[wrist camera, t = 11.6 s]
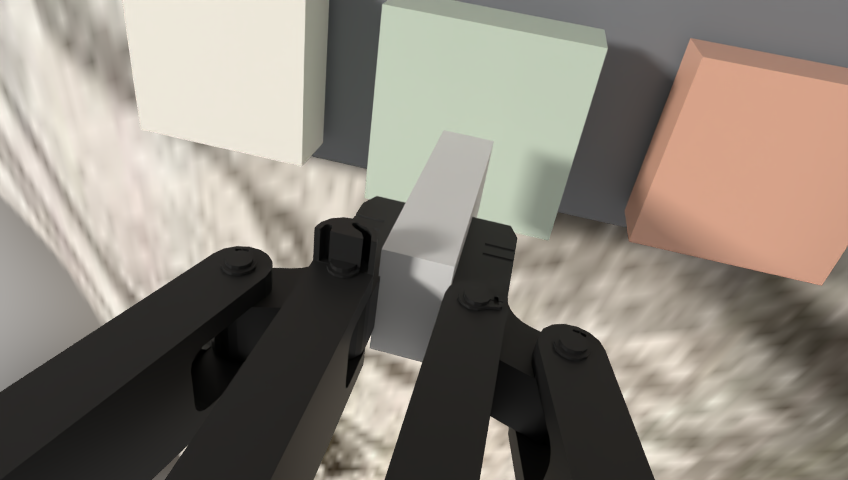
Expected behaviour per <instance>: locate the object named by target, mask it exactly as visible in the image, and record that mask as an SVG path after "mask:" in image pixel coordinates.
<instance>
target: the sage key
mask: <svg viewBox="0 0 848 480" xmlns="http://www.w3.org/2000/svg"><path fill="white" fill-rule="evenodd" d="M607 49H608V47H607V41H606V35H605V30H604V29H599V28H594V27H589V26H583V25H578V24H573V23H568V22H563V21H558V20H552V19H547V18H542V17H537V16H532V15H526V14H521V13H516V12H511V11H506V10H501V9H495V8H490V7H485V6H480V5H475V4H469V3H464V2H459V1H454V0H387V1H386V2H385V3H383V4H382V13H381V24H380V35H379V46H378V57H377V68H376V78H375V89H374V100H373V111H372V122H371V133H370V144H369V155H368V165H367V176H366V187H365V198H367V199H372V198H374V197H375V196H379V197H384V198H388V199H392V200H397V201H401V202H405V203H406V201H407V199H408V198H409V196H410V194H411V192H412V190H413V188H414V186H415V184H416V182H417V180H418V178H419V176H420V175H421V173H422V171H423V169H424V167H425V165H426V163H427V161H428V159H429V157H430V155H431V153H432V151H433V150H434V148H435V146H436V144H437V142H438V140H439V138H440V136H441V134H442V132H443V130H445V131H450V132H455V133H459V134H464V135H468V136H473V137H477V138H482V139H487V140H491V141H494V143H493V148H492V152H491V157H490V161H489V166H488V170H487V175H486V179H485V184H484V189H483V193H482V198H481V202H480V207H479V211H478V216H477V218H480V219H484V220H488V221H493V222H497V223H501V224H505V225H510V226H511V227H512V229H513V231H514V233H518V234H523V235H527V236H531V237H536V238H540V239H544V240H549V238H550V234H551V231H552V228H553V225H554V221H555V218H556V215H557V212H558V208H559V205H560V202H561V199H562V195H563V192H564V189H565V186H566V182H567V179H568V176H569V173H570V169H571V166H572V163H573V160H574V156H575V153H576V150H577V147H578V144H579V140H580V137H581V134H582V131H583V127H584V124H585V121H586V118H587V114H588V111H589V108H590V105H591V101H592V98H593V95H594V92H595V88H596V85H597V82H598V79H599V75H600V72H601V69H602V66H603V62H604V59H605V56H606V53H607Z"/></svg>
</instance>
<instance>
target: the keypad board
mask: <svg viewBox="0 0 848 480" xmlns="http://www.w3.org/2000/svg"><path fill="white" fill-rule="evenodd" d="M386 1H387V0H329V17H328V40H327V63H326V86H325V108H324V131H323V143H322V145H321V146H320V147H319V148H318V149H317V150H316V151H315V152H314V153H313V155H312V156H313V157H317V158H322V159H326V160H331V161H335V162H340V163H344V164H348V165H353V166H357V167H362V168H366V169H367V165H368V155H369V144H370V133H371V122H372V111H373V100H374V89H375V78H376V68H377V57H378V46H379V35H380V24H381V13H382V4H383V3H385V2H386ZM454 1H459V2H464V3H469V4H475V5H480V6H485V7H490V8H495V9H501V10H506V11H511V12H516V13H521V14H526V15H532V16H537V17H542V18H547V19H552V20H558V21H563V22H568V23H573V24H578V25H583V26H589V27H594V28H599V29H604V30H605V35H606V41H607V47H608V49H607V53H606V56H605V59H604V62H603V66H602V69H601V72H600V75H599V79H598V82H597V85H596V88H595V92H594V95H593V98H592V101H591V105H590V108H589V111H588V114H587V118H586V121H585V124H584V127H583V131H582V134H581V137H580V140H579V144H578V147H577V150H576V153H575V156H574V160H573V163H572V166H571V169H570V173H569V176H568V179H567V182H566V186H565V189H564V192H563V195H562V199H561V202H560V205H559V208H558V212H560V213H565V214H569V215H573V216H578V217H582V218H587V219H591V220H596V221H600V222H604V223H609V224H613V225H618V226H622V227H626V228H627V224H626V217H625V208H626V205H627V203H628V200H629V198H630V195H631V192H632V190H633V187H634V185H635V182H636V179H637V177H638V174H639V171H640V169H641V166H642V164H643V161H644V158H645V156H646V153H647V150H648V148H649V145H650V143H651V140H652V137H653V135H654V132H655V130H656V127H657V124H658V122H659V119H660V116H661V114H662V111H663V109H664V106H665V103H666V101H667V98H668V96H669V93H670V90H671V88H672V85H673V82H674V80H675V77H676V75H677V72H678V69H679V67H680V64H681V61H682V59H683V56H684V54H685V51H686V48H687V46H688V43H689V41H690V38H693V39H698V40H704V41H709V42H714V43H719V44H724V45H730V46H735V47H740V48H745V49H751V50H756V51H761V52H766V53H771V54H777V55H782V56H787V57H792V58H798V59H803V60H808V61H813V62H818V63H824V64H829V65H834V66H839V67H844V68H848V0H454Z"/></svg>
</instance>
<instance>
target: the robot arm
mask: <svg viewBox="0 0 848 480" xmlns="http://www.w3.org/2000/svg"><path fill="white" fill-rule="evenodd" d="M493 143H494V141H491V140H487V139H482V138H477V137H473V136H468V135H464V134H459V133H455V132H450V131H445V130H443V132H442V134H441V136H440V138H439V140H438V142H437V144H436V146H435V148H434V150H433V151H432V153H431V155H430V157H429V159H428V161H427V163H426V165H425V167H424V169H423V171H422V173H421V175H420V176H419V178H418V180H417V182H416V184H415V186H414V188H413V190H412V192H411V194H410V196H409V198H408V199H407V201H406V203H405V202H401V201H397V200H392V199H388V198H384V197H379V196H375V197H374V198H372V199H370V200H368V201H366V202H364V203H363V204H362V206H361V207H360V209H359V210H358V212H357V213H356V216H354V218H353V219H352V218H344V217H343V218H331V219H329V220H326V221H323V222H321V223H320V224H318V225H317V226H316V227H315V231H314V254H313V261H312V263H311V264H310V266H309V267H305V268H272V260H271V259H270V257H269V255H267V254H266V253H264V252H263V251H261V250H259V249H255V248H252V247H241V246H236V247H230V248H225V249H222V250H220V251H218V252H216V253H213V254H212V255H210V256H209V257H207V258H206V259H204V260H203V261H201V262H200V263H198V264H197V265H195V266H193V267H192V268H190V269H189V270H187V271H186V272H184V273H183V274H181V275H180V276H178V277H177V278H175V279H173V280H172V281H170V282H169V283H167V284H166V285H164V286H163V287H161V288H160V289H158V290H157V291H155V292H153V293H152V294H150V295H149V296H147V297H146V298H144V299H143V300H141V301H140V302H138V303H137V304H135V305H133V306H132V307H130V308H129V309H127V310H126V311H124V312H123V313H121V314H120V315H118V316H117V317H115V318H113V319H112V320H110V321H109V322H107V323H106V324H104V325H103V326H101V327H100V328H98V329H97V330H95V331H93V332H92V333H90V334H89V335H87V336H86V337H84V338H83V339H81V340H80V341H78V342H77V343H75V344H74V345H72V346H70V347H69V348H67V349H66V350H65V351H63V352H61V353H60V354H58V355H57V356H55V357H54V358H52V359H50V360H49V361H47V362H46V363H44V364H43V365H41V366H40V367H38V368H37V369H35V370H34V371H32V372H31V373H29V374H27V375H26V376H24V377H23V378H21V379H20V380H18V381H17V382H15V383H13V384H12V385H11V386H9V387H7V388H6V389H4V390H3V391H1V392H0V480H152V479H153V478H154V477H155V476H156V475H157V474H158V473H159V472H160V471H161V470H162V469H164V467H166V466H167V465H168V464H169V463H170V462H171V461H172V460H173V459H174V458H175V457H176V456H177V455H178V454H179V453H180V452H181V451H182V450H183V449H184V448H185V447H186V446H187V448H186V449H185V451H184V452H183V454H182V455H181V457H180V458H179V459H178V461H177V462H176V464H175V465H174V467H173V469H172V470H171V471H170V473H169V474H168V476H167V477H166V479H165V480H314V477H315V475H316V473H317V470H318V468H319V466H320V463H321V461H322V459H323V456H324V454H325V452H326V450H327V447H328V445H329V443H330V440H331V438H332V436H333V433H334V431H335V429H336V426H337V424H338V422H339V419H340V417H341V415H342V412H343V410H344V408H345V406H346V403H347V401H348V399H349V396H350V394H351V392H352V389H353V387H354V385H355V382H356V380H357V378H358V375H359V373H360V371H361V368H362V366H363V362H364V354H365V347H366V345H367V343H368V340H369V338H370V336H371V342H370V348H371V349H375V350H378V351H382V352H386V353H390V354H394V355H397V356H401V357H405V358H409V359H413V360H416V361H420V362H422V365H421V368H420V371H419V375H418V378H417V381H416V384H415V387H414V390H413V393H412V396H411V399H410V403H409V406H408V409H407V412H406V415H405V418H404V421H403V424H402V427H401V430H400V434H399V437H398V440H397V443H396V446H395V449H394V452H393V455H392V458H391V462H390V465H389V468H388V471H387V474H386V477H385V480H480V474H481V468H482V462H483V456H484V450H485V444H486V438H487V432H488V426H489V420H490V416H491V417H493V418H495V419H496V420H498V421H500V422H501V423H503V424H505V425H507V426H508V427H509V431H508V436H509V442H510V448H511V454H512V460H513V466H514V472H515V478H516V480H655V479H654V476H653V474H652V471H651V469H650V466H649V463H648V461H647V458H646V455H645V453H644V450H643V448H642V445H641V442H640V440H639V437H638V435H637V432H636V429H635V427H634V424H633V421H632V419H631V416H630V414H629V411H628V408H627V406H626V403H625V401H624V398H623V395H622V393H621V390H620V388H619V385H618V382H617V380H616V377H615V374H614V372H613V369H612V367H611V364H610V361H609V359H608V356H607V354H606V351H605V349H604V348H603V346H602V344H601V343H600V341H599V340H598V339H596V338H595V337H594V336H593V335H592V334H590V333H589V332H587V331H585V330H583V329H581V328H579V327H576V326H571V325H567V324H554V325H551V326H548V327H546V328H544V329H543V330H542V331H541V332H540V331H538V330H536V329H534V328H532V327H530V326H528V325H527V324H525V323H523V322H522V321H521V320H519V319H518V318H517V317H516V316H515V315H514V314H513V312H512V311H511V310H510V307H509V305H508V291H509V285H510V279H511V273H512V267H513V261H514V255H515V249H516V243H517V237H516V235H515V233H514V231H513V229H512V227H511V226H510V225H505V224H501V223H497V222H493V221H488V220H484V219H480V218H477V216H478V211H479V207H480V202H481V198H482V193H483V189H484V184H485V179H486V175H487V170H488V166H489V161H490V157H491V152H492V148H493Z"/></svg>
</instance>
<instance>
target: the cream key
mask: <svg viewBox="0 0 848 480" xmlns="http://www.w3.org/2000/svg"><path fill="white" fill-rule="evenodd" d="M122 3H123V10H124V17H125V24H126V31H127V38H128V45H129V52H130V59H131V66H132V73H133V80H134V87H135V94H136V101H137V108H138V115H139V122H140V129H141V130H145V131H149V132H154V133H158V134H162V135H167V136H171V137H175V138H180V139H184V140H189V141H193V142H197V143H202V144H206V145H210V146H215V147H219V148H224V149H228V150H232V151H237V152H241V153H245V154H250V155H254V156H258V157H263V158H267V159H272V160H276V161H280V162H285V163H289V164H293V165H298V166H303V165H304V163H305V162H306V161H307V160H308V159H309V158H310V157H311V156H312V155H313V153H314V152H315V151H316V150H317V149H318V148H319V147H320V146H321V145H322V143H323V131H324V108H325V86H326V63H327V40H328V17H329V0H122Z"/></svg>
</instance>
